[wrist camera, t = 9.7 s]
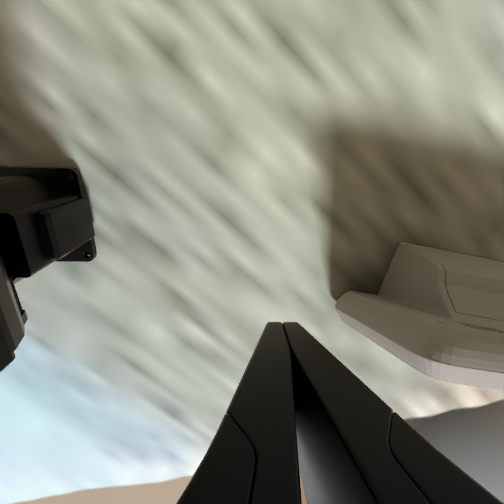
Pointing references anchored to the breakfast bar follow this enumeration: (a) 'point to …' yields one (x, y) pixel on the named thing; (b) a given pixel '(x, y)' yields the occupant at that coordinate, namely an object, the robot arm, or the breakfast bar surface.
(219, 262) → the breakfast bar surface
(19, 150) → the breakfast bar surface
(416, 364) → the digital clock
